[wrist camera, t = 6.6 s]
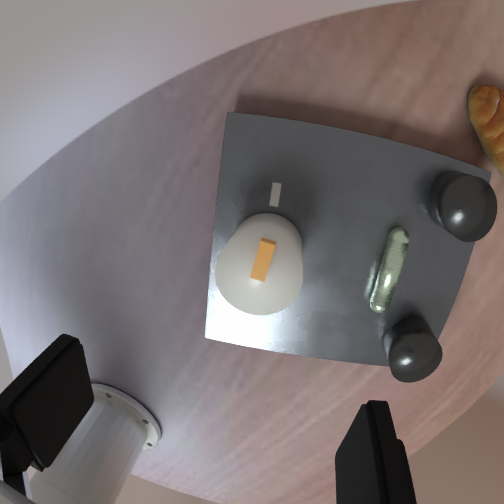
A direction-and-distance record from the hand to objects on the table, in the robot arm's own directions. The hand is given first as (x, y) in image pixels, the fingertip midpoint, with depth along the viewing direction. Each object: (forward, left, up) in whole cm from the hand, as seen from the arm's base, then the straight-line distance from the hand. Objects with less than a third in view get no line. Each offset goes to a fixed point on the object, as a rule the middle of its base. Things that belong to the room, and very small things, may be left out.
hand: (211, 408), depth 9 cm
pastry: (+13, -19, -17) cm, 29 cm away
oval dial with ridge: (0, 0, -15) cm, 15 cm away
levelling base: (0, -6, -17) cm, 18 cm away
